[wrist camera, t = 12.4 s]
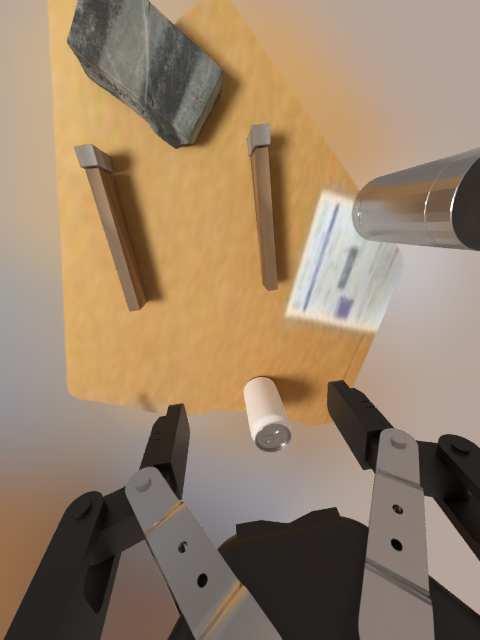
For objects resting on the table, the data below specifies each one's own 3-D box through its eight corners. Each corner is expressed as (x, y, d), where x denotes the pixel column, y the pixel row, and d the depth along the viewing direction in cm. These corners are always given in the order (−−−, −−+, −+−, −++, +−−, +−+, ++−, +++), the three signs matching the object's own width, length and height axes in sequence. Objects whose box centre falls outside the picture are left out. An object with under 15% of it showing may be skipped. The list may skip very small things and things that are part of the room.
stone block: (188, 158, 34) (183, 148, 29) (82, 80, 30) (57, 52, 25) (222, 91, 31) (223, 67, 26) (113, -4, 27) (91, -53, 23)
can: (280, 394, 49) (299, 444, 38) (251, 407, 50) (262, 460, 39) (268, 370, 47) (285, 415, 36) (238, 384, 47) (245, 432, 36)
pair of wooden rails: (261, 137, 33) (269, 123, 29) (272, 282, 41) (280, 289, 36) (94, 157, 32) (73, 146, 28) (136, 302, 40) (126, 312, 35)
